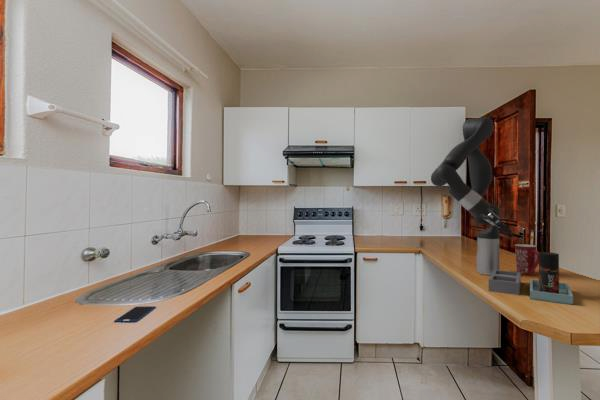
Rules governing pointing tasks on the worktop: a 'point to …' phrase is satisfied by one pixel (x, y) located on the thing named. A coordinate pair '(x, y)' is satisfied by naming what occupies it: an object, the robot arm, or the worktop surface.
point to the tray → (562, 297)
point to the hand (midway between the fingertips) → (506, 232)
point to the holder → (505, 282)
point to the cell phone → (135, 314)
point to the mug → (526, 258)
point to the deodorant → (549, 272)
